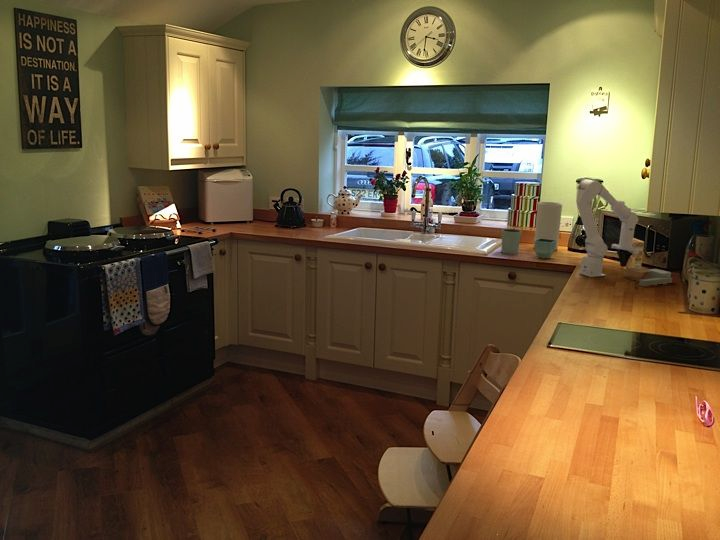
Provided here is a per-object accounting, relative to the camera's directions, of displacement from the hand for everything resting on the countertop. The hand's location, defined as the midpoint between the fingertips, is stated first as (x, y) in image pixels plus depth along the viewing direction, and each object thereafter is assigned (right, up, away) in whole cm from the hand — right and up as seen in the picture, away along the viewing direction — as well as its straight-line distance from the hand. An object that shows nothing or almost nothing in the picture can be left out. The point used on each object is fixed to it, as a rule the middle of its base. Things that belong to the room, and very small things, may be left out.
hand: (622, 266), depth 324 cm
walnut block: (+4, -6, -7) cm, 10 cm away
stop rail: (+8, -8, -16) cm, 20 cm away
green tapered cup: (-44, +7, +41) cm, 61 cm away
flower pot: (-28, +4, +33) cm, 43 cm away
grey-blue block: (+13, -7, -7) cm, 16 cm away
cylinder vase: (-21, +9, +56) cm, 61 cm away
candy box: (+8, -3, +9) cm, 12 cm away
